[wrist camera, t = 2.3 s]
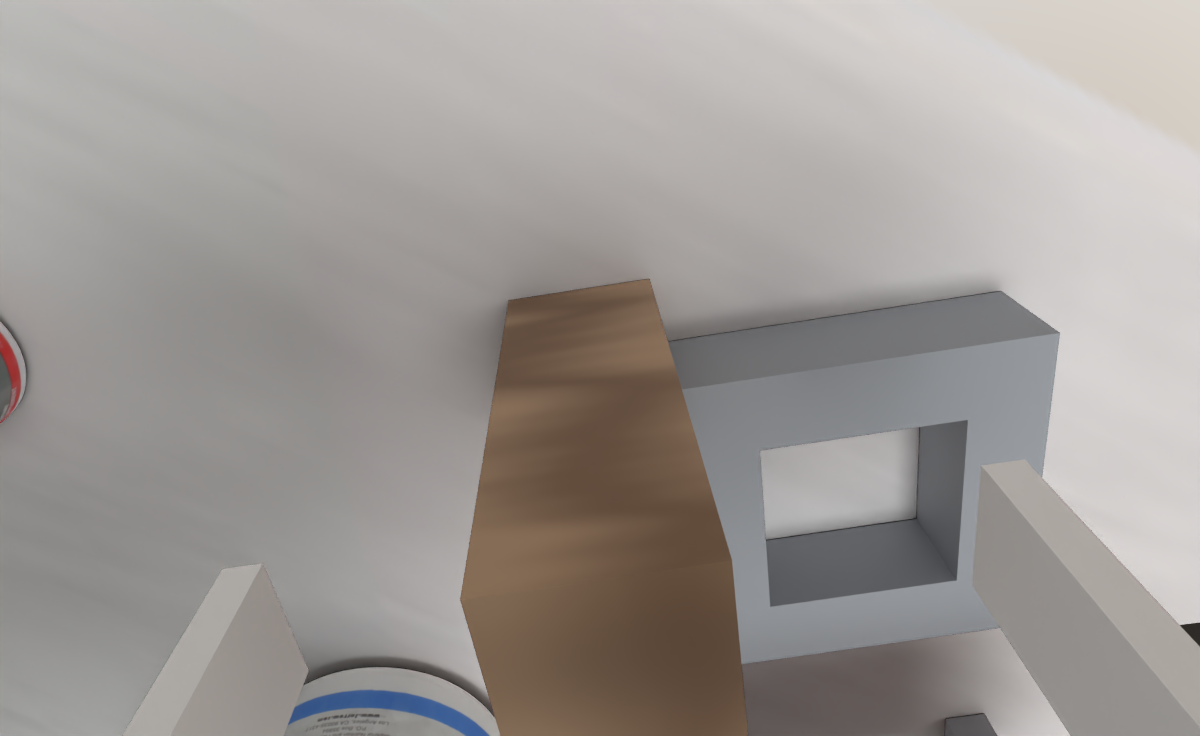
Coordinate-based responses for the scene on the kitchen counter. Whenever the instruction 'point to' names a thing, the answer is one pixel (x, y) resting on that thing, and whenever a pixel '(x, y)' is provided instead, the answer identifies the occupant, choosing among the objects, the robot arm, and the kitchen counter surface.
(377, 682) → the supplement tub
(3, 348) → the pill bottle
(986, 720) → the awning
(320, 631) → the kitchen counter surface
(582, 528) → the peg
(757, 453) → the socket block
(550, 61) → the kitchen counter surface
